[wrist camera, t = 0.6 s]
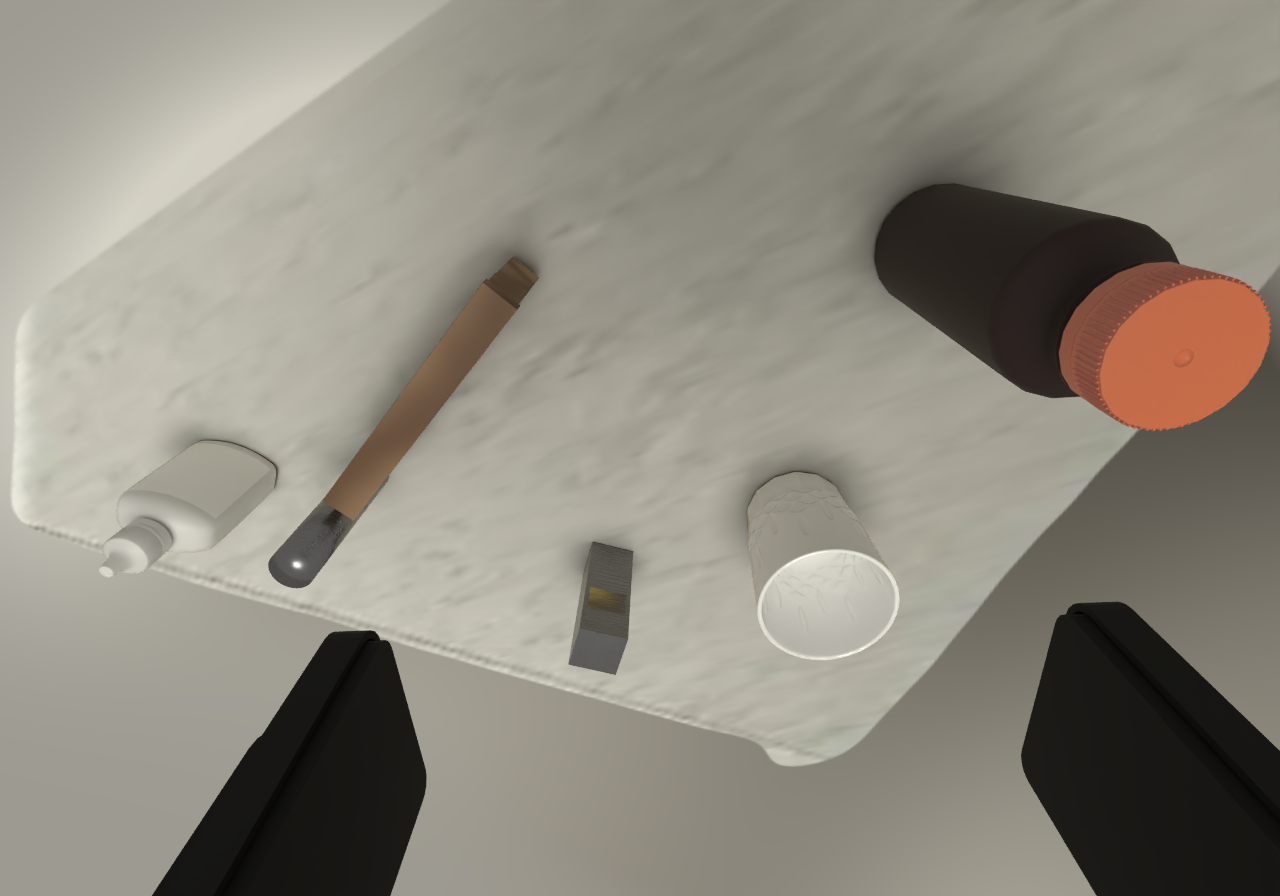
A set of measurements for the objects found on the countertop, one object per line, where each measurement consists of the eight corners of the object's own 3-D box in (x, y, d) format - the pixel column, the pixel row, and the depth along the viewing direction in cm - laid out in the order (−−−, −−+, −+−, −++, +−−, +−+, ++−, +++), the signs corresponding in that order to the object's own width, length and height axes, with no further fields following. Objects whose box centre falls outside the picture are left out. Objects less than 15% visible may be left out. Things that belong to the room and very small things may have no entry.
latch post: (592, 542, 47) (579, 628, 39) (632, 551, 47) (627, 639, 39) (583, 574, 48) (568, 664, 40) (622, 583, 49) (615, 674, 41)
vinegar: (889, 176, 36) (1118, 229, 18) (1011, 188, 36) (1359, 252, 18) (860, 299, 39) (1032, 449, 21) (972, 309, 39) (1239, 467, 21)
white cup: (728, 552, 47) (744, 652, 38) (750, 456, 44) (774, 541, 35) (835, 565, 48) (876, 667, 39) (866, 470, 44) (919, 559, 35)
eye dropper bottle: (222, 417, 44) (79, 514, 33) (290, 476, 45) (176, 585, 35) (184, 453, 45) (35, 558, 34) (252, 509, 47) (130, 624, 36)
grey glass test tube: (355, 453, 44) (268, 547, 35) (390, 462, 45) (314, 557, 35) (352, 483, 45) (268, 582, 36) (387, 491, 46) (312, 592, 36)
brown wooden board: (371, 445, 43) (322, 500, 37) (512, 255, 37) (482, 282, 31) (397, 463, 44) (353, 520, 37) (540, 279, 38) (516, 309, 32)
